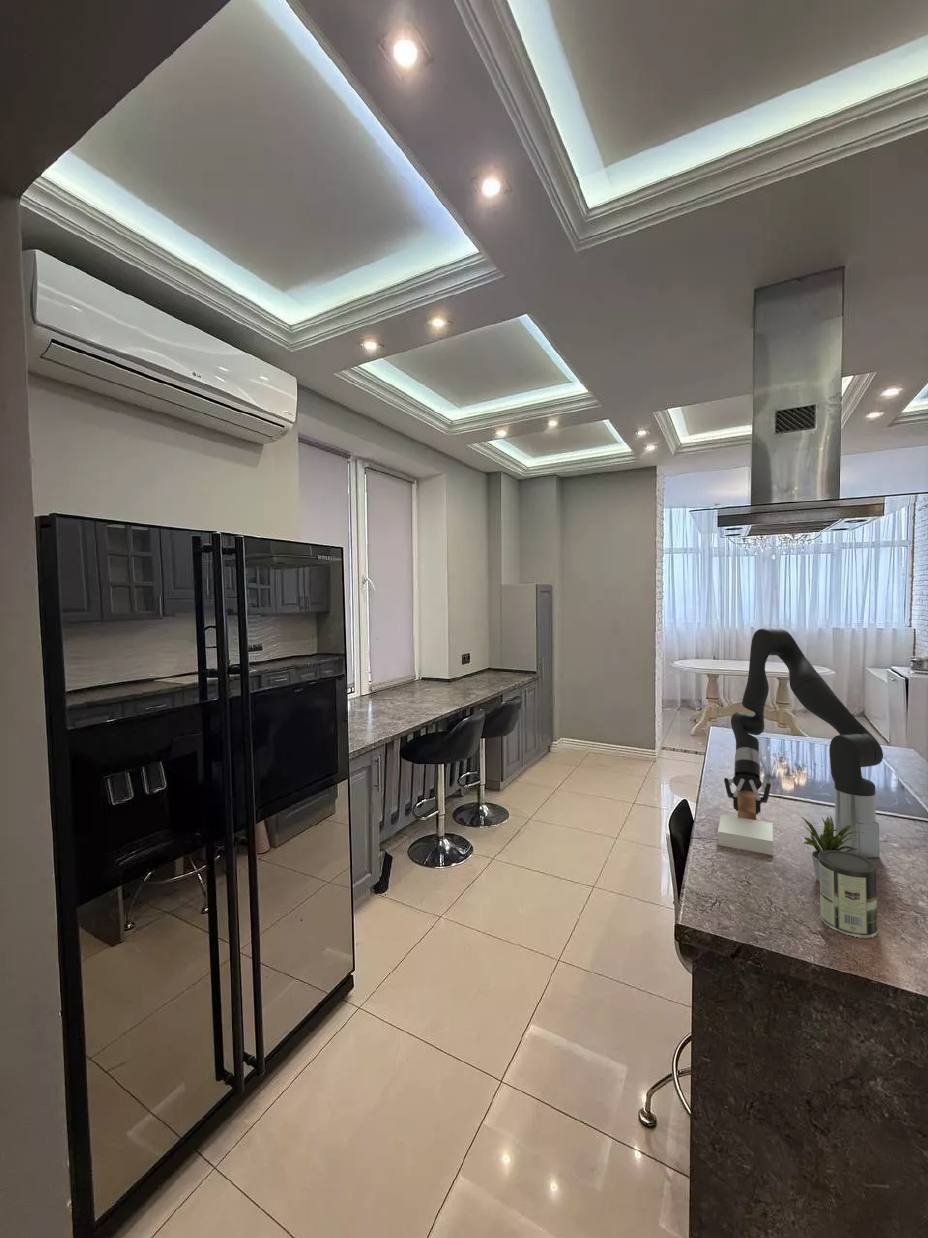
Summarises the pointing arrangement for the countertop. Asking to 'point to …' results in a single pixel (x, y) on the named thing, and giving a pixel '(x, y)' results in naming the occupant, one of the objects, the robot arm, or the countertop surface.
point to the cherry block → (747, 804)
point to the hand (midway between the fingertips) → (746, 811)
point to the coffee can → (848, 893)
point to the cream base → (746, 834)
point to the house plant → (827, 840)
